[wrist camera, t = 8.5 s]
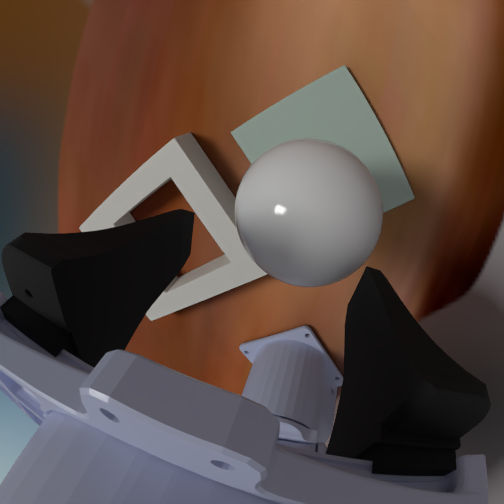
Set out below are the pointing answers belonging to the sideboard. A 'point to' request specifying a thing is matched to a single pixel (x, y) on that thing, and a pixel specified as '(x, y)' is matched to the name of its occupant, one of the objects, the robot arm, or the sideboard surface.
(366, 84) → the sideboard surface
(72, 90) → the sideboard surface
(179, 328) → the sideboard surface
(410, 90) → the sideboard surface
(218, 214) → the bulb holder
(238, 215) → the lightbulb
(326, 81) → the mat
